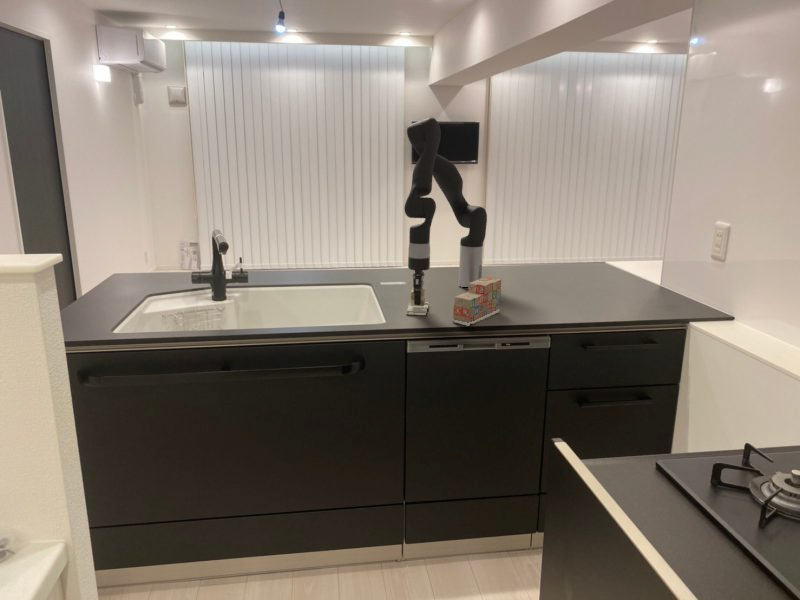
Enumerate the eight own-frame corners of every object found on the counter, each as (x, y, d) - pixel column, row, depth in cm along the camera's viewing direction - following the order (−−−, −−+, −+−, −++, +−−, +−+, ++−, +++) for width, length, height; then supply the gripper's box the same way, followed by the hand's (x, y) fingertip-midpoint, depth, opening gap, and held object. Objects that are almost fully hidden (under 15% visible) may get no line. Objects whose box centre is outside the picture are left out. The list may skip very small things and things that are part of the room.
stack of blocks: (469, 327, 193) (470, 290, 190) (452, 323, 197) (454, 287, 193) (499, 312, 210) (501, 279, 206) (484, 309, 213) (485, 276, 210)
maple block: (424, 302, 211) (425, 289, 210) (423, 306, 207) (424, 292, 206) (411, 302, 212) (412, 288, 211) (410, 305, 208) (411, 291, 206)
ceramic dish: (428, 306, 216) (428, 302, 215) (426, 315, 204) (426, 311, 204) (409, 305, 216) (409, 301, 216) (406, 314, 205) (406, 310, 204)
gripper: (428, 259, 198) (427, 308, 202) (431, 251, 211) (429, 298, 216) (406, 259, 198) (405, 307, 203) (410, 251, 212) (409, 297, 217)
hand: (418, 302), depth 209 cm, fingers closed on maple block, 4 cm apart
